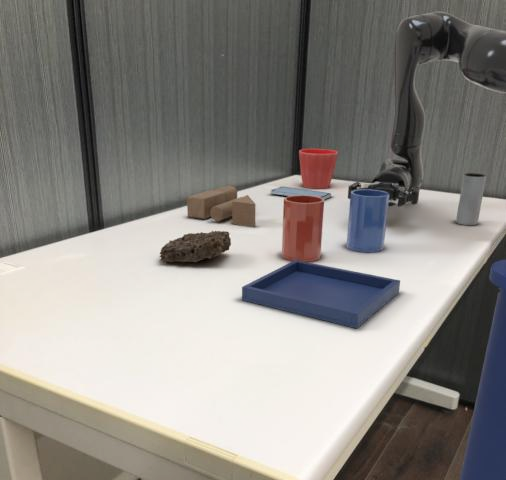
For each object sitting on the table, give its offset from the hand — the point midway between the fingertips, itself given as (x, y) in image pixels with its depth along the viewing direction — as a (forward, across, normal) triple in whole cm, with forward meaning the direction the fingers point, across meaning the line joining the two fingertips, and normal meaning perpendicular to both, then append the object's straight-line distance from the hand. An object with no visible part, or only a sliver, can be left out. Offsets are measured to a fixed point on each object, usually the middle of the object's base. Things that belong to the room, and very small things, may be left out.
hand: (378, 199), depth 113 cm
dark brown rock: (+30, -25, +7) cm, 40 cm away
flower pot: (-47, -25, +7) cm, 53 cm away
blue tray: (+39, -1, +7) cm, 39 cm away
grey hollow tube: (-18, +17, +7) cm, 26 cm away
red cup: (+21, -9, +7) cm, 24 cm away
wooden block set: (-4, -32, +7) cm, 33 cm away
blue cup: (+10, 0, +7) cm, 13 cm away
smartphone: (-31, -25, +7) cm, 41 cm away
